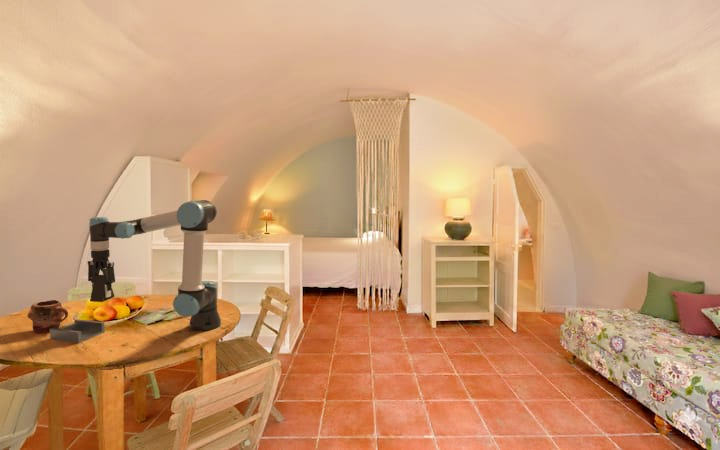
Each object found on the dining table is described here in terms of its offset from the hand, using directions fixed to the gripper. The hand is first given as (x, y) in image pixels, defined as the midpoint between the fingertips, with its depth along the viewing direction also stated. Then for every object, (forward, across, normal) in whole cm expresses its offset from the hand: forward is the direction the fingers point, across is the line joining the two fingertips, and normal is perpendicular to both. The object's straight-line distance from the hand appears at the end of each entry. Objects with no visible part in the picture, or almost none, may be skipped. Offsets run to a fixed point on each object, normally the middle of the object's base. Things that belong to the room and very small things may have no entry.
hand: (102, 296), depth 196 cm
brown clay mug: (+18, +25, +7) cm, 31 cm away
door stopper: (+2, 0, 0) cm, 2 cm away
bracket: (+17, +6, +9) cm, 20 cm away
